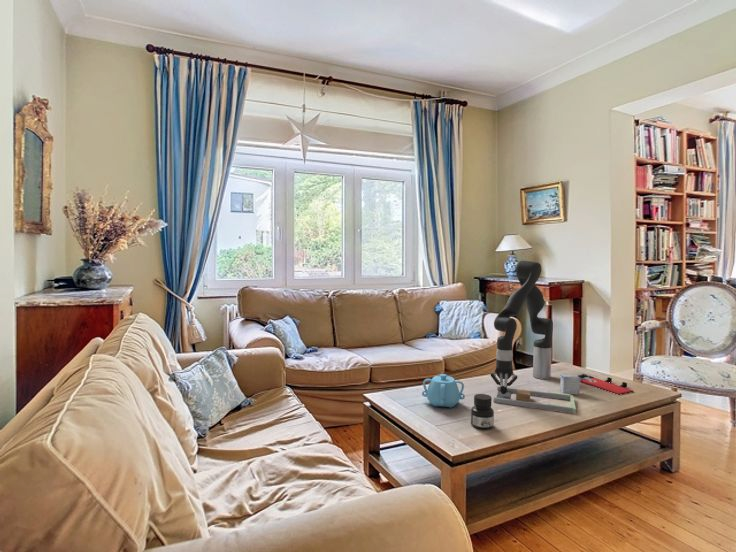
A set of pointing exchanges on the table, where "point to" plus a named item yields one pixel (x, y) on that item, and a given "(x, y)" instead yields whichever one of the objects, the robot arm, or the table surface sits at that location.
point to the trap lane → (506, 400)
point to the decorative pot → (443, 391)
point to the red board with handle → (604, 384)
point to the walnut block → (523, 395)
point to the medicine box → (570, 384)
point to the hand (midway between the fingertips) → (503, 393)
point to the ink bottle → (482, 412)
